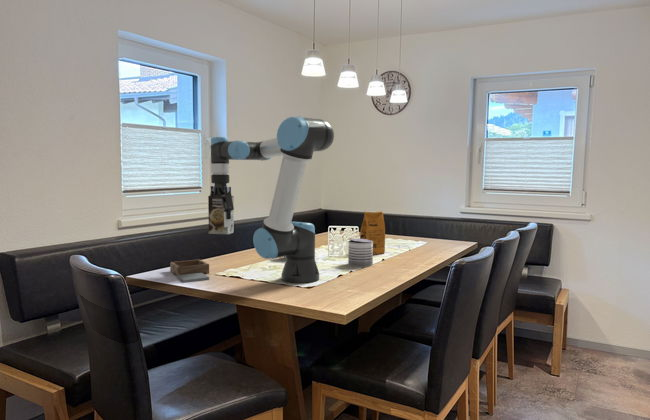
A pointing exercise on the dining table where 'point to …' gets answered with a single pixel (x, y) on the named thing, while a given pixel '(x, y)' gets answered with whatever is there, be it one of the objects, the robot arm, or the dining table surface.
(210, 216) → the coffee box
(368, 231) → the coffee package
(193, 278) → the pad
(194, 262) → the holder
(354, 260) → the can
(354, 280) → the dining table surface
